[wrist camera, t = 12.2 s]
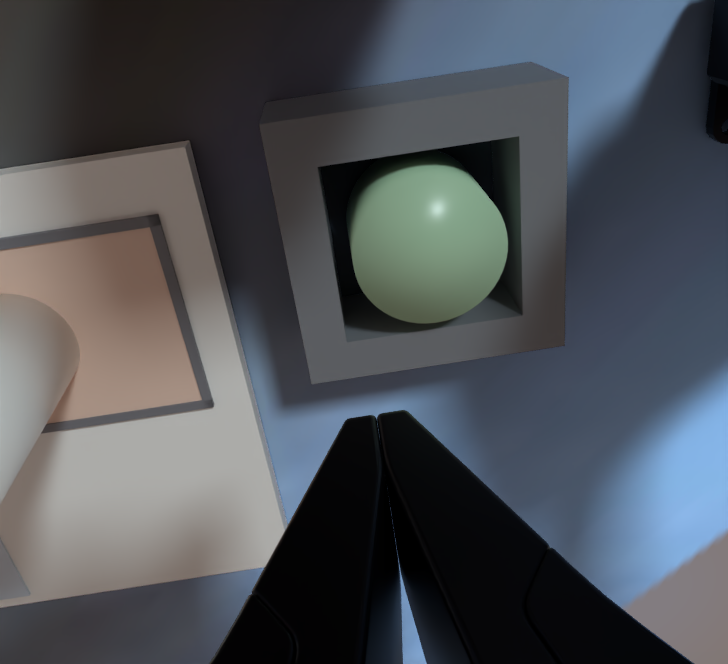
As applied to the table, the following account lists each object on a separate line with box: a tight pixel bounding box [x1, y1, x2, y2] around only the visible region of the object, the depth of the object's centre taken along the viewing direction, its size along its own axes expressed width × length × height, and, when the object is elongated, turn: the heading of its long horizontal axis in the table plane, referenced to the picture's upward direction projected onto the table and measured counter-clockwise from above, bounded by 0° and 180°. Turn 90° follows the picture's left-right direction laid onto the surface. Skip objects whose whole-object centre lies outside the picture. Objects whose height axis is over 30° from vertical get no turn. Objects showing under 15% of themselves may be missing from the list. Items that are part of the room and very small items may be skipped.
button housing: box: [259, 62, 569, 384], centre depth 19 cm, size 7×7×3 cm
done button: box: [346, 149, 508, 323], centre depth 18 cm, size 4×4×3 cm
